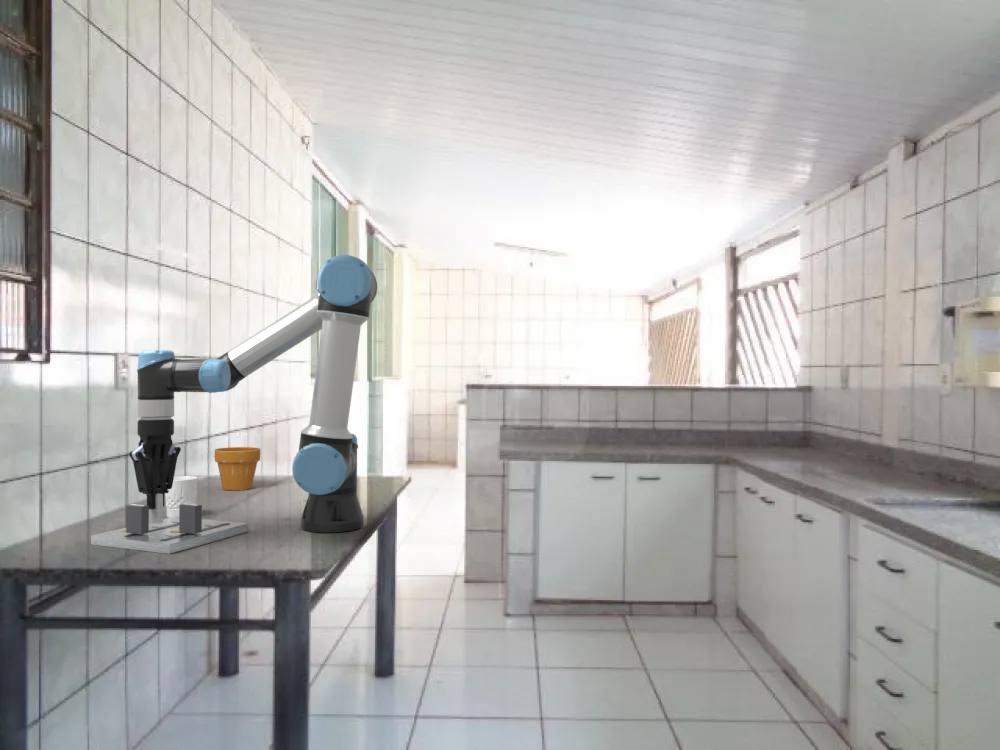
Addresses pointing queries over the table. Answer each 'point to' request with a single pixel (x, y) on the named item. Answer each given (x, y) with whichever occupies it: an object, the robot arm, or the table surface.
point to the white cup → (180, 494)
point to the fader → (190, 518)
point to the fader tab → (137, 519)
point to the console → (169, 536)
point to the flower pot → (237, 466)
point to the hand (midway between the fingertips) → (155, 522)
